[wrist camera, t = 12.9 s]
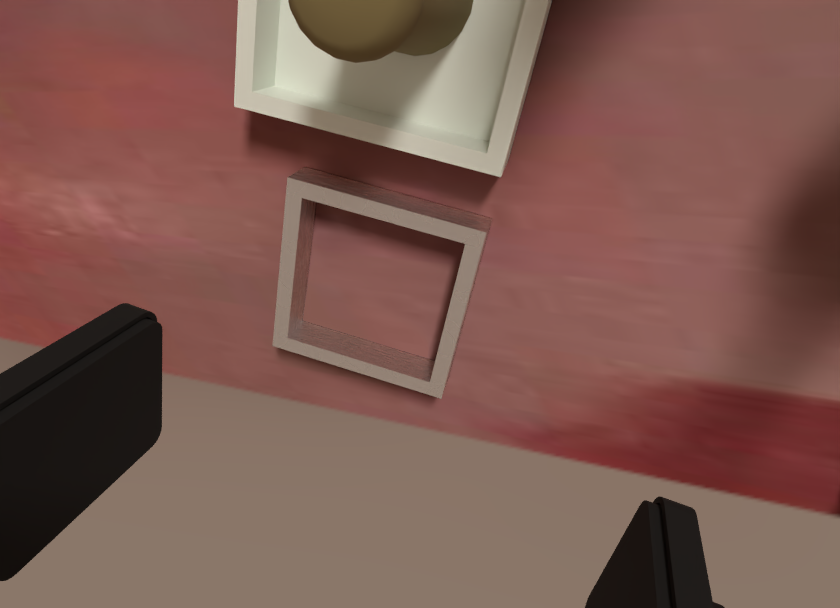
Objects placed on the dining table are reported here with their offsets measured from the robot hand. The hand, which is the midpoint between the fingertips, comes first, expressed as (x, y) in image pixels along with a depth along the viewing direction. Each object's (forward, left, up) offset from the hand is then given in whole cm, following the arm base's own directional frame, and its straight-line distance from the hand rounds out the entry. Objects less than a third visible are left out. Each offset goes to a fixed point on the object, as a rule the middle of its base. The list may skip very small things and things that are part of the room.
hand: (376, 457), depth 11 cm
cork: (+7, -7, -25) cm, 27 cm away
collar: (+6, +10, -26) cm, 28 cm away
